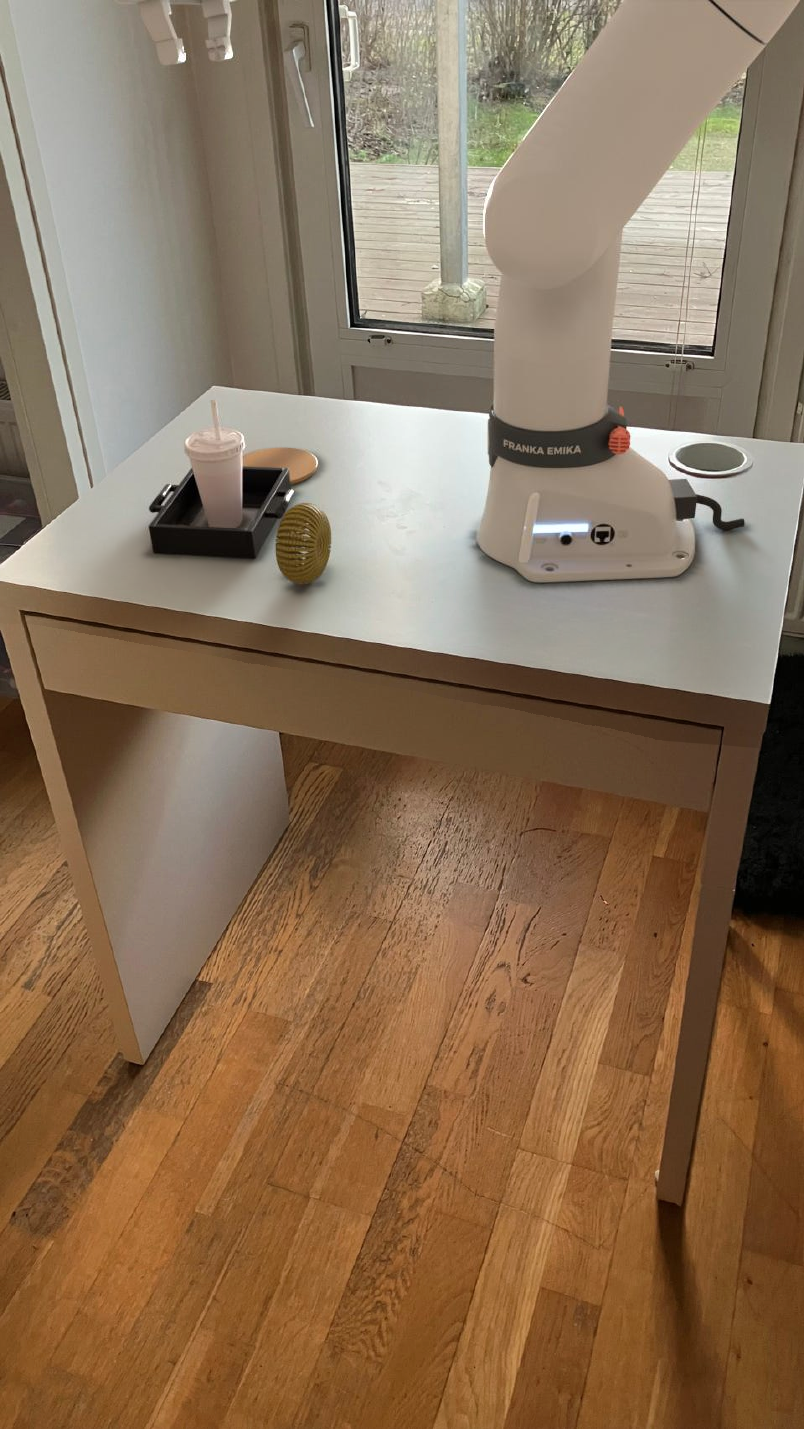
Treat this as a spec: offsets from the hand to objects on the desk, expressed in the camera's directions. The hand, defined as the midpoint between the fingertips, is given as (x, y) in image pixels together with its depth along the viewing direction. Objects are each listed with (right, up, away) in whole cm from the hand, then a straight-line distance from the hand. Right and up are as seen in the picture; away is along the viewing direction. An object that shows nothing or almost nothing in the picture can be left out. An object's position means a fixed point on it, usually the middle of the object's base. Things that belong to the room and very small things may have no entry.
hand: (198, 62), depth 103 cm
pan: (-2, -36, +27) cm, 45 cm away
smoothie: (-2, -36, +27) cm, 45 cm away
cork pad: (+3, -28, +37) cm, 47 cm away
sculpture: (+8, -44, +16) cm, 47 cm away
